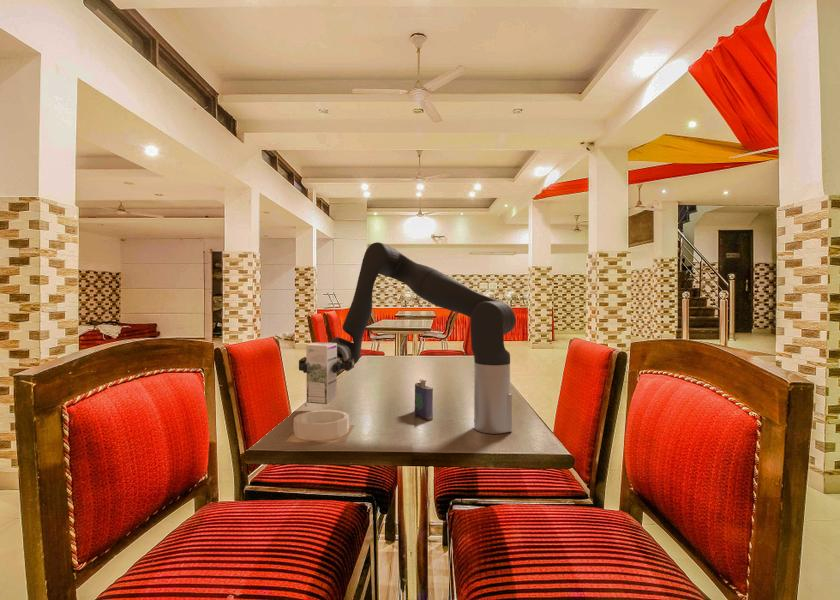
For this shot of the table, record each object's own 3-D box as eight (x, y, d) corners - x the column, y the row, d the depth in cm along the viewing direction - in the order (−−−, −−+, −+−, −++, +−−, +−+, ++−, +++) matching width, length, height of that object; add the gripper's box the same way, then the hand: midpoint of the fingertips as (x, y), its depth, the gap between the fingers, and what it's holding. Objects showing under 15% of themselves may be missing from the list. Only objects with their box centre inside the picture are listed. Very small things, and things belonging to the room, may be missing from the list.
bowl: (352, 425, 117) (352, 410, 117) (343, 441, 104) (343, 424, 104) (302, 425, 117) (302, 410, 117) (287, 441, 104) (287, 424, 104)
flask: (434, 420, 125) (434, 381, 124) (425, 421, 123) (424, 382, 123) (420, 412, 133) (420, 376, 133) (411, 413, 132) (411, 377, 132)
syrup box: (337, 399, 113) (337, 342, 112) (326, 405, 107) (326, 344, 107) (317, 398, 114) (317, 341, 114) (305, 403, 108) (305, 343, 108)
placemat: (354, 427, 117) (354, 425, 117) (345, 444, 103) (345, 442, 103) (301, 427, 117) (301, 424, 117) (284, 444, 103) (284, 441, 103)
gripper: (307, 345, 125) (290, 353, 108) (359, 345, 125) (349, 353, 108) (307, 371, 125) (290, 384, 108) (359, 372, 125) (349, 384, 108)
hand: (319, 368), depth 108 cm, fingers closed on syrup box, 6 cm apart
